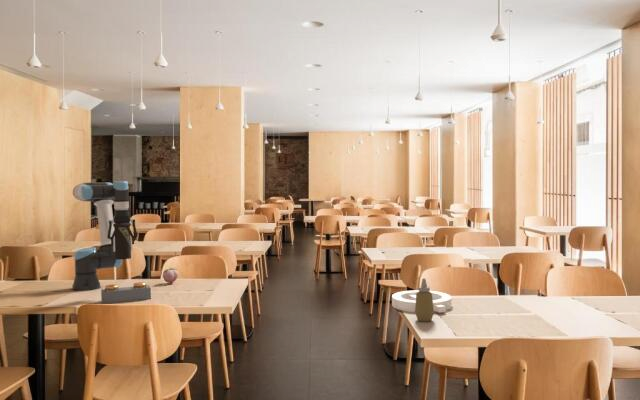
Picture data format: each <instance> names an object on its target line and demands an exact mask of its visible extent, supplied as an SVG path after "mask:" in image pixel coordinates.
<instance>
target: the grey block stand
mask: <svg viewBox="0 0 640 400" xmlns="http://www.w3.org/2000/svg"><path fill="white" fill-rule="evenodd" d="M151 290H152V289H151V286H150V285H149V284H146V286H145V288H138V289H135V287H134V286H126V287H125V286H124V287H118V288H117V291H107V289H105V288H104V289H101V290H100V294H101V296H100V297H101V304H102V303H107V304H113V303H114V304H115V303H123V302H125V303H126V302H132V301H135V302H137V301H144V300H145V301H146V300H151V299H152V293H151Z"/></svg>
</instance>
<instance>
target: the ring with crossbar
mask: <svg viewBox="0 0 640 400" xmlns="http://www.w3.org/2000/svg"><path fill="white" fill-rule="evenodd" d="M417 292H419V289H417V290H416V289H415V290H404V291H403V290H401V291H398V292H395V293H393V294H392V295H391V306H392V307H393V308H394V309H397V310H399V311H403V312H409V313H415V304H416V293H417ZM429 292H431V293H432V299H433V308H434V313H446V311H447V310H448V311H449V310H450V309H452V296H451V294H449V293H445V292H441V291H435V290H434V291H433V290H430V291H429Z"/></svg>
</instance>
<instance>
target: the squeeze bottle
mask: <svg viewBox="0 0 640 400" xmlns="http://www.w3.org/2000/svg"><path fill="white" fill-rule="evenodd" d="M421 279H422V281H421V284H420V285H419V286H418V290H419V292H417V293H416V304H415V312H414V313H415V316H416V318H417V321H419V322H426V323H428V322H431V321H432V319H433V316H434V313H435V312H434V308H433V299H432V293H431V292H429V291H431V289H430V286H428V284H427V280H426V278H421Z"/></svg>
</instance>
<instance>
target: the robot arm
mask: <svg viewBox="0 0 640 400" xmlns="http://www.w3.org/2000/svg"><path fill="white" fill-rule="evenodd" d="M129 189H130V187H129V183H128V181H126V180H124V181H123V180H122V181H117V180H116V181H113V183H112V182H111V181H110V182H106V181H103V182H83V183H79V184H76V185H75V186H74V187H73V190H72V195H73V196H74V198H75V199H77V200H78V201H82V202H92V203H93V205H94V206H95V207H96V213H97V221H98V231H99V238H100V244H99V246H98V249H96V247H95V246H93V247H86V248H81V249H80V248H79V249H78V250H76V251H75V252H74V258H73V260H74V274H75V275H74V279H73V284H72V288H71V289H72V290H73V289H74V290H73V291H89V290H90V289H91V290H96V289H100V288H101V282H100V280H99V277H98V274H97V272H98V271H97V270H101V269H114V268H119V267H120V266H122V263H123V260H124V259H115V227H114V226H113V224H114V223H130V224H131V225H132V228H133V233H134V234H133V233H132V230H131V229H130V244H131V252H132V251H133V245H134V244H135V238H138V232H137V227H136V220H135V219H134V218H133V219H132V218H130V210H129V209H130V203H129V199H130V198H129V195H130V194H129ZM112 205H113V206H114V207H113V206H112ZM113 208H114V214H113ZM113 215H114V216H113ZM91 290H90V291H91Z"/></svg>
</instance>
